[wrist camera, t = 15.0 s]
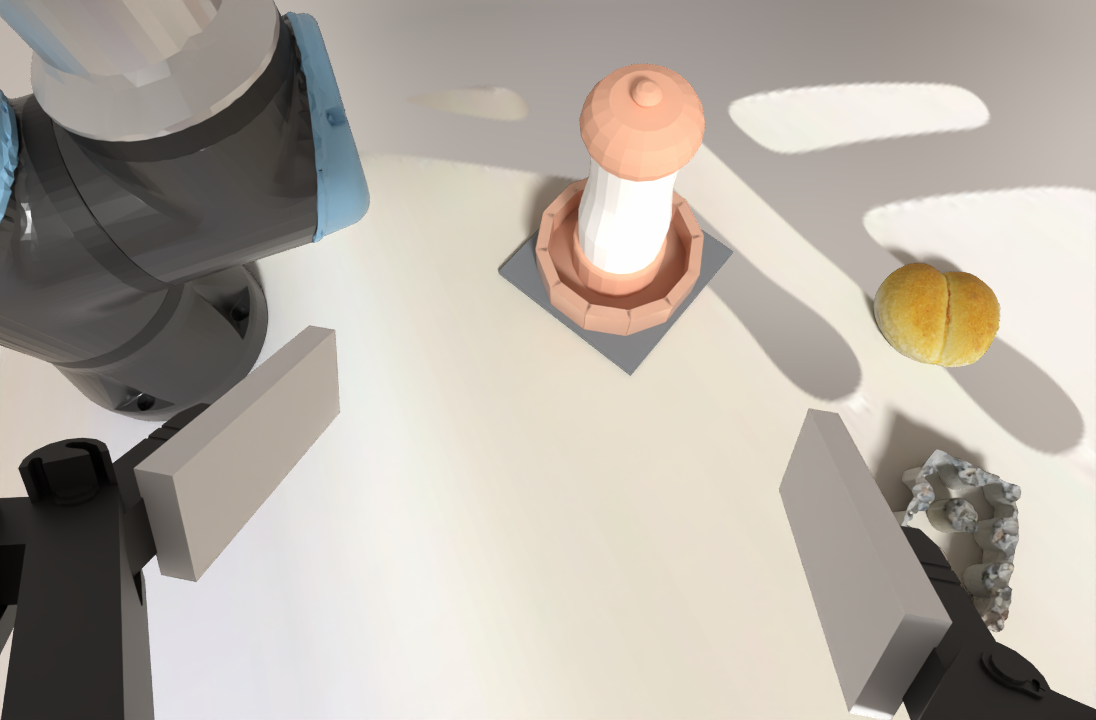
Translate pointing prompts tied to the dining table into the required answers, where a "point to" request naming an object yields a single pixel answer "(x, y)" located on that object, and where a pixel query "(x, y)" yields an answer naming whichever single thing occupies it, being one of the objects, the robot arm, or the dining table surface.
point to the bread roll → (937, 315)
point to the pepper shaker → (632, 174)
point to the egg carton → (972, 527)
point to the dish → (605, 311)
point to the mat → (614, 347)
